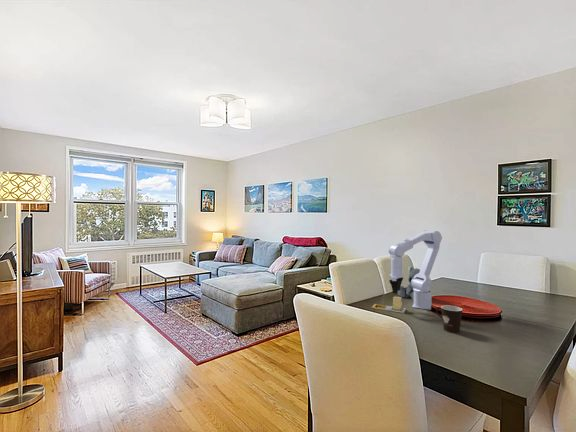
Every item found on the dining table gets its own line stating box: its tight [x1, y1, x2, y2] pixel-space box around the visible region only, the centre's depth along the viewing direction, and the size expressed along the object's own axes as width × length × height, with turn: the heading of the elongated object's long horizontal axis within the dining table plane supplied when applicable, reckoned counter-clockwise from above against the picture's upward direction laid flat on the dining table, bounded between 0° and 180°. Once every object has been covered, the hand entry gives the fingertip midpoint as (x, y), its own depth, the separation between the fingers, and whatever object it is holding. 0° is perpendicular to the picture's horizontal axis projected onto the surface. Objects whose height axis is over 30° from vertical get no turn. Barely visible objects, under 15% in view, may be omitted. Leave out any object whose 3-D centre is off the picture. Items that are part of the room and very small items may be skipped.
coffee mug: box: [435, 304, 463, 334], centre depth 140 cm, size 12×9×10 cm
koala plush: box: [396, 265, 431, 302], centre depth 192 cm, size 17×18×20 cm
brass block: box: [392, 296, 403, 311], centre depth 167 cm, size 4×4×7 cm
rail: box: [371, 303, 407, 314], centre depth 169 cm, size 17×6×1 cm, turn 61°
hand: (396, 291), depth 167 cm, fingers open, 7 cm apart
